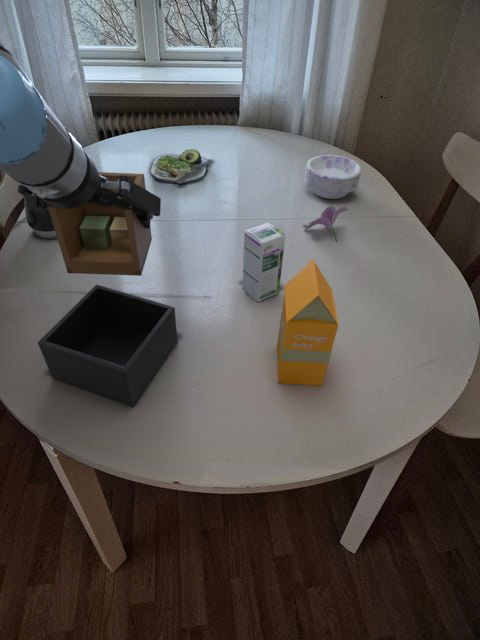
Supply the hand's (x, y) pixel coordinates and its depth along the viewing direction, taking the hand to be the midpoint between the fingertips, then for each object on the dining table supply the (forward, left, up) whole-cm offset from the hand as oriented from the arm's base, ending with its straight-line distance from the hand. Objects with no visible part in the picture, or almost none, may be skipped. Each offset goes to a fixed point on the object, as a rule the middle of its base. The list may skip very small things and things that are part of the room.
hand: (110, 218), depth 70 cm
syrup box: (+22, +17, -21) cm, 35 cm away
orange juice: (+35, 0, -21) cm, 41 cm away
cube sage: (-2, -1, -4) cm, 5 cm away
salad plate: (-19, +62, -21) cm, 68 cm away
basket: (+5, -11, -21) cm, 24 cm away
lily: (+30, +45, -21) cm, 58 cm away
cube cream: (+3, 0, -4) cm, 5 cm away
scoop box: (+1, -3, -5) cm, 6 cm away
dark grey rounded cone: (-31, +18, -21) cm, 42 cm away
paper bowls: (+26, +68, -21) cm, 76 cm away
